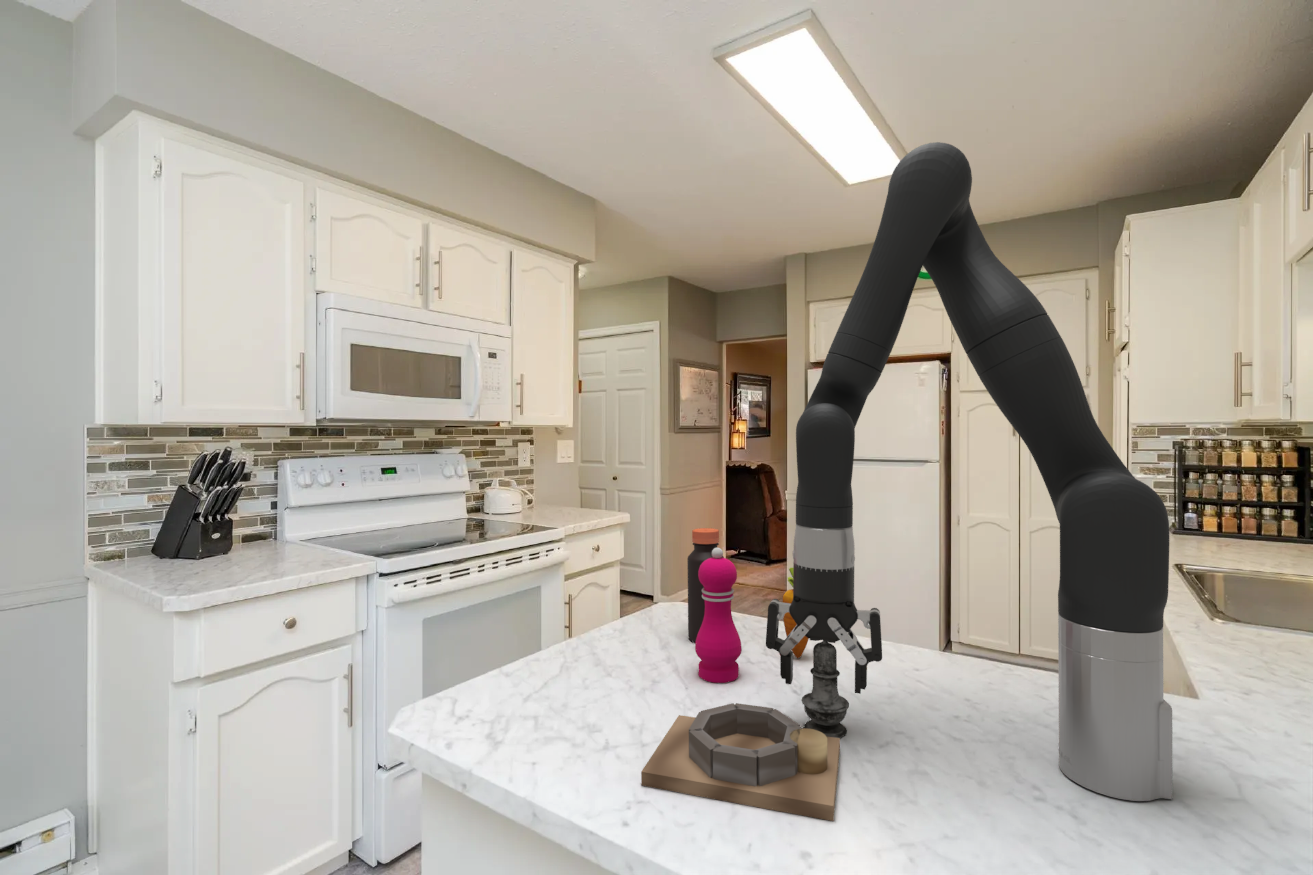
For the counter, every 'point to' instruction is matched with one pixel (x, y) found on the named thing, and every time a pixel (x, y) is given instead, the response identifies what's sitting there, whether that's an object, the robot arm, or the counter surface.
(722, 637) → the pepper mill
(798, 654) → the carrot
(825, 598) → the robot arm
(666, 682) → the counter surface
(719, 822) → the counter surface
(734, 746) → the board
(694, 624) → the bottle
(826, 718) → the salt shaker
